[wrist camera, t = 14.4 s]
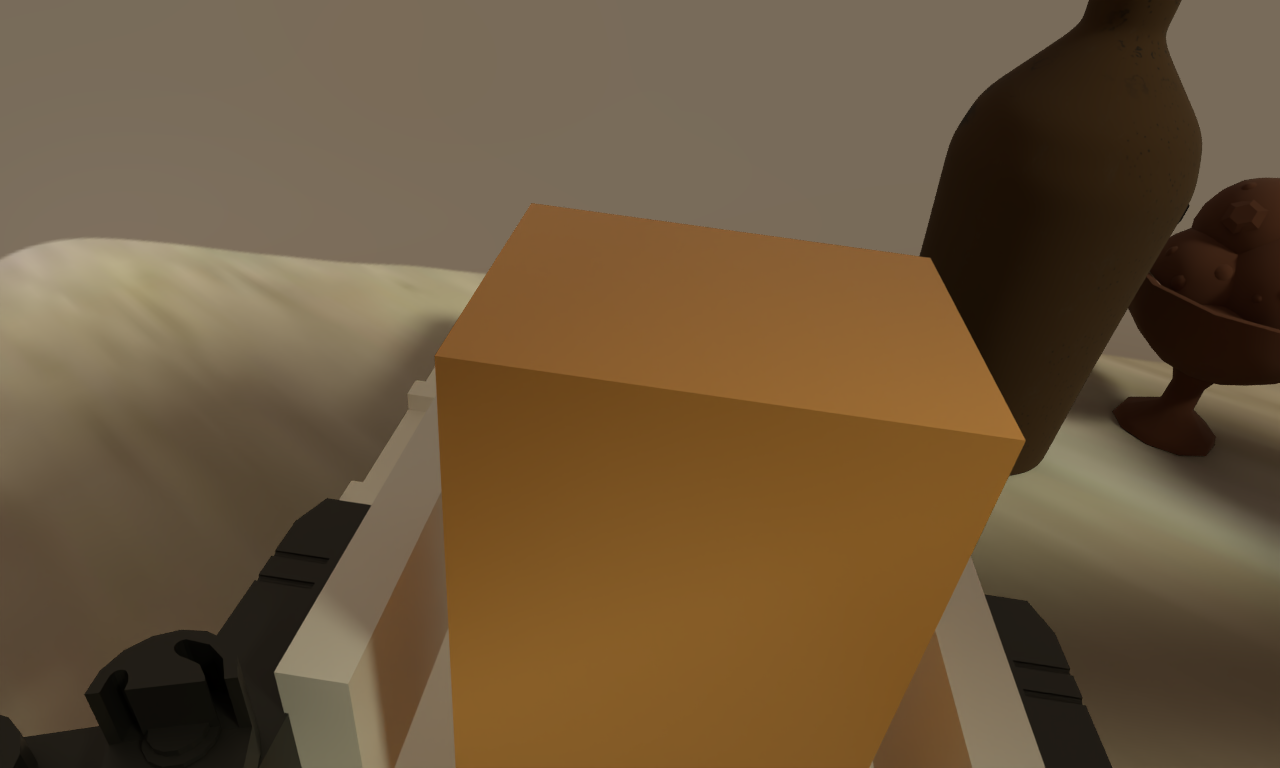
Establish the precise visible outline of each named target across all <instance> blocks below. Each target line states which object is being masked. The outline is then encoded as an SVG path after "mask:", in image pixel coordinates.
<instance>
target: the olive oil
mask: <svg viewBox="0 0 1280 768" xmlns="http://www.w3.org/2000/svg"><path fill="white" fill-rule="evenodd" d="M1180 2H1181V0H1089V2H1088V5H1087V8H1086V11H1085V14H1084V16H1083V18H1082V20H1081V21H1080V22H1079V24H1078V25H1077V26H1076V27H1074V28H1073V29H1072V30H1071V31H1070V32H1068V33H1067V34H1066V35H1064V36H1063V37H1062V38H1060V39H1058V40H1057V41H1056V42H1054V43H1053V44H1051V45H1050V46H1048V47H1047V48H1045V49H1044V50H1042V51H1041V52H1039V53H1038V54H1036V55H1035V56H1033V57H1032V58H1030V59H1029V60H1027V61H1026V62H1024V63H1023V64H1021V65H1020V66H1018V67H1016V68H1015V69H1013V70H1012V71H1011V72H1009V73H1008V74H1006V75H1005V76H1003V77H1002V78H1000V79H999V80H997V81H996V82H995V83H993V84H992V85H991V86H990V87H989V88H987V90H985V91H984V92H983V93H982V94H981V95H980V96H979V97H978V99H977V100H976V101H975V102H974V104H973V105H972V106H971V108H970V110H969V111H968V112H967V114H966V115H965V117H964V118H963V120H962V121H961V123H960V125H959V126H958V128H957V130H956V131H955V134H954V136H953V138H952V140H951V143H950V145H949V148H948V151H947V155H946V158H945V162H944V166H943V170H942V174H941V177H940V181H939V185H938V189H937V193H936V196H935V200H934V204H933V208H932V212H931V215H930V219H929V223H928V227H927V231H926V234H925V238H924V242H923V245H922V250H921V253H920V257H927V258H931V260H932V262H933V264H934V266H935V268H936V270H937V272H938V274H939V275H940V277H941V279H942V281H943V283H944V285H945V287H946V289H947V291H948V293H949V295H950V297H951V298H952V300H953V302H954V304H955V306H956V308H957V310H958V312H959V314H960V316H961V318H962V319H963V321H964V323H965V325H966V327H967V329H968V331H969V333H970V335H971V337H972V339H973V341H974V342H975V344H976V346H977V348H978V350H979V352H980V354H981V356H982V358H983V360H984V362H985V364H986V365H987V367H988V369H989V371H990V373H991V375H992V377H993V379H994V381H995V383H996V385H997V386H998V388H999V390H1000V392H1001V394H1002V396H1003V398H1004V400H1005V402H1006V404H1007V406H1008V408H1009V409H1010V411H1011V413H1012V415H1013V417H1014V419H1015V421H1016V423H1017V425H1018V427H1019V429H1020V431H1021V432H1022V434H1023V436H1024V438H1025V440H1026V441H1025V443H1024V446H1023V448H1022V450H1021V452H1020V454H1019V456H1018V458H1017V460H1016V462H1015V464H1014V466H1013V469H1012V471H1011V473H1010V475H1016V474H1020V473H1024V472H1027V471H1029V470H1031V469H1033V468H1034V467H1036V466H1037V465H1038V464H1039V463H1040V462H1041V461H1042V459H1043V458H1044V456H1045V454H1046V453H1047V451H1048V449H1049V447H1050V445H1051V444H1052V442H1053V440H1054V438H1055V436H1056V435H1057V433H1058V431H1059V429H1060V427H1061V425H1062V424H1063V422H1064V420H1065V418H1066V416H1067V414H1068V413H1069V411H1070V409H1071V407H1072V405H1073V403H1074V402H1075V400H1076V398H1077V396H1078V394H1079V392H1080V391H1081V389H1082V387H1083V385H1084V383H1085V382H1086V380H1087V378H1088V376H1089V375H1090V373H1091V371H1092V369H1093V368H1094V366H1095V364H1096V362H1097V361H1098V359H1099V357H1100V356H1101V354H1102V352H1103V350H1104V349H1105V347H1106V345H1107V343H1108V342H1109V340H1110V338H1111V336H1112V335H1113V333H1114V331H1115V330H1116V328H1117V326H1118V324H1119V323H1120V321H1121V319H1122V317H1123V316H1124V314H1125V312H1126V310H1127V309H1128V307H1129V305H1130V304H1131V302H1132V300H1133V298H1134V297H1135V295H1136V293H1137V292H1138V290H1139V288H1140V286H1141V285H1142V283H1143V281H1144V280H1145V278H1146V276H1147V275H1148V273H1149V271H1150V270H1151V268H1152V266H1153V264H1154V263H1155V261H1156V259H1157V258H1158V256H1159V254H1160V253H1161V251H1162V249H1163V248H1164V246H1165V244H1166V243H1167V241H1168V239H1169V237H1170V236H1171V234H1172V232H1173V231H1174V229H1175V227H1176V226H1177V224H1178V223H1179V222H1180V221H1181V220H1182V218H1183V216H1184V215H1185V213H1186V211H1187V209H1188V208H1189V202H1190V200H1191V198H1192V196H1193V193H1194V190H1195V187H1196V183H1197V178H1198V174H1199V168H1200V162H1201V154H1202V137H1201V132H1200V127H1199V125H1198V121H1197V119H1196V116H1195V113H1194V111H1193V109H1192V106H1191V104H1190V101H1189V100H1188V97H1187V94H1186V92H1185V90H1184V88H1183V85H1182V83H1181V80H1180V78H1179V76H1178V74H1177V71H1176V69H1175V66H1174V64H1173V61H1172V59H1171V56H1170V54H1169V51H1168V48H1167V44H1166V32H1167V29H1168V27H1169V24H1170V23H1171V21H1172V19H1173V17H1174V15H1175V13H1176V11H1177V9H1178V6H1179V4H1180ZM1010 475H1009V476H1010Z"/></svg>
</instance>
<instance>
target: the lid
mask: <svg viewBox="0 0 1280 768" xmlns="http://www.w3.org/2000/svg"><path fill="white" fill-rule="evenodd" d="M436 394H437V413H438V432H439V452H440V471H441V491H442V511H443V530H444V550H445V570H446V589H447V609H448V630H447V633H446V635H445V638H444V640H443V643H442V646H441V648H440V651H439V653H438V656H437V659H436V661H435V664H434V666H433V669H432V672H431V674H430V677H429V679H428V682H427V685H426V687H425V690H424V692H423V695H422V698H421V700H420V703H419V705H418V708H417V711H416V713H415V716H414V718H413V721H412V724H411V726H410V729H409V731H408V734H407V737H406V739H405V742H404V744H403V747H402V750H401V752H400V755H399V757H398V760H397V763H396V765H395V768H874V766H873V759H874V757H875V755H876V753H877V751H878V749H879V747H880V744H881V742H882V740H883V738H884V736H885V734H886V732H887V730H888V728H889V726H890V724H891V721H892V719H893V717H894V715H895V713H896V711H897V709H898V707H899V705H900V703H901V701H902V698H903V696H904V694H905V692H906V690H907V688H908V686H909V684H910V682H911V680H912V678H913V675H914V673H915V671H916V669H917V667H918V665H919V663H920V661H921V659H922V657H923V655H924V652H925V650H926V648H927V646H928V644H929V642H930V640H931V638H932V636H933V634H934V632H935V629H936V627H937V625H938V623H939V621H940V619H941V617H942V615H943V613H944V611H945V609H946V606H947V604H948V602H949V600H950V598H951V596H952V594H953V592H954V590H955V588H956V586H957V583H958V581H959V579H960V577H961V575H962V573H963V571H964V569H965V567H966V565H967V563H968V561H969V558H970V556H971V554H972V552H973V550H974V548H975V546H976V544H977V542H978V540H979V538H980V535H981V533H982V531H983V529H984V527H985V525H986V523H987V521H988V519H989V517H990V515H991V512H992V510H993V508H994V506H995V504H996V502H997V500H998V498H999V496H1000V494H1001V492H1002V489H1003V487H1004V485H1005V483H1006V481H1007V479H1008V477H1009V475H1010V473H1011V471H1012V469H1013V466H1014V464H1015V462H1016V460H1017V458H1018V456H1019V454H1020V452H1021V450H1022V448H1023V446H1024V443H1025V441H1026V440H1025V438H1024V436H1023V434H1022V432H1021V431H1020V429H1019V427H1018V425H1017V423H1016V421H1015V419H1014V417H1013V415H1012V413H1011V411H1010V409H1009V408H1008V406H1007V404H1006V402H1005V400H1004V398H1003V396H1002V394H1001V392H1000V390H999V388H998V386H997V385H996V383H995V381H994V379H993V377H992V375H991V373H990V371H989V369H988V367H987V365H986V364H985V362H984V360H983V358H982V356H981V354H980V352H979V350H978V348H977V346H976V344H975V342H974V341H973V339H972V337H971V335H970V333H969V331H968V329H967V327H966V325H965V323H964V321H963V319H962V318H961V316H960V314H959V312H958V310H957V308H956V306H955V304H954V302H953V300H952V298H951V297H950V295H949V293H948V291H947V289H946V287H945V285H944V283H943V281H942V279H941V277H940V275H939V274H938V272H937V270H936V268H935V266H934V264H933V262H932V260H931V258H927V257H920V256H913V255H905V254H898V253H890V252H883V251H876V250H869V249H862V248H854V247H847V246H839V245H833V244H825V243H818V242H810V241H803V240H796V239H789V238H782V237H774V236H767V235H760V234H752V233H745V232H738V231H730V230H723V229H716V228H709V227H701V226H694V225H687V224H679V223H672V222H664V221H658V220H650V219H642V218H635V217H628V216H621V215H614V214H607V213H599V212H592V211H585V210H578V209H570V208H562V207H556V206H549V205H541V204H534V203H531V205H530V207H529V208H528V210H527V211H526V213H525V214H524V216H523V217H522V219H521V221H520V222H519V224H518V225H517V227H516V228H515V230H514V232H513V233H512V235H511V236H510V238H509V239H508V241H507V243H506V244H505V246H504V247H503V249H502V250H501V252H500V254H499V255H498V257H497V258H496V260H495V261H494V263H493V265H492V266H491V268H490V269H489V271H488V273H487V274H486V276H485V277H484V279H483V280H482V282H481V284H480V285H479V287H478V288H477V290H476V291H475V293H474V295H473V296H472V298H471V299H470V301H469V302H468V304H467V306H466V307H465V309H464V310H463V312H462V313H461V315H460V317H459V318H458V320H457V321H456V323H455V324H454V326H453V328H452V329H451V331H450V332H449V334H448V335H447V337H446V339H445V340H444V342H443V343H442V345H441V346H440V348H439V350H438V351H437V353H436V354H435V367H434V369H433V370H432V372H431V374H430V375H429V377H428V378H427V380H426V381H419V380H416V381H415V382H414V384H413V385H412V387H411V388H410V390H409V392H408V393H407V399H408V411H407V412H406V414H405V415H404V417H403V419H402V420H401V422H400V423H399V425H398V427H397V428H396V430H395V432H394V433H393V435H392V436H391V438H390V440H389V441H388V443H387V444H386V446H385V448H384V449H383V451H382V452H381V454H380V456H379V457H378V459H377V461H376V462H375V464H374V465H373V467H372V469H371V470H370V472H369V473H368V475H367V477H366V478H365V480H364V481H363V482H358V481H352V480H351V482H350V483H349V485H348V487H347V488H346V490H345V491H344V493H343V494H342V496H341V497H340V499H339V500H342V501H348V502H355V503H362V504H368V505H372V504H373V502H374V500H375V498H376V497H377V495H378V493H379V492H380V490H381V488H382V486H383V485H384V483H385V481H386V480H387V478H388V476H389V474H390V473H391V471H392V469H393V468H394V466H395V464H396V462H397V461H398V459H399V457H400V456H401V454H402V452H403V451H404V449H405V447H406V445H407V444H408V442H409V440H410V439H411V437H412V435H413V433H414V432H415V430H416V428H417V427H418V425H419V423H420V421H421V420H422V418H423V416H424V415H425V413H426V411H427V409H428V408H429V406H430V404H431V403H432V401H433V399H434V397H435V396H436Z"/></svg>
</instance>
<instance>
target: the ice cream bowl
mask: <svg viewBox="0 0 1280 768" xmlns="http://www.w3.org/2000/svg"><path fill="white" fill-rule="evenodd" d="M1128 309H1129V310H1130V313H1131V315H1132V317H1133V319H1134V321H1135V323H1136V325H1137V327H1138V329H1139V331H1140V332H1141V333H1142V335H1143V336H1144V338H1145V339H1146V340H1147V342H1148V343H1149V345H1150V346H1151V348H1152V349H1153V350H1154V351H1155V352H1156V354H1157V355H1158V356H1159V357H1160V358H1161V359H1162V360H1163V361H1164V362H1166V363H1168V364H1169V365H1171V366H1172V367H1173V379H1172V380H1171V382H1170V383H1169V385H1168V387H1167V388H1166V390H1165V391H1164V393H1163V395H1162V396H1161V397H1128V398H1127V399H1126V400H1125V401H1124V402H1122V403H1121V404H1120V405H1119V406H1118V407H1117V408H1116V409H1115V410H1114V411H1113V413H1114V415H1115V417H1116V419H1117V420H1118V422H1119V424H1120V426H1121V427H1122V428H1123V429H1125V430H1126V431H1128V432H1129V433H1131V434H1132V435H1134V436H1135V437H1137V438H1138V439H1140V440H1141V441H1143V442H1144V443H1146V444H1148V445H1150V446H1153V447H1156V448H1159V449H1162V450H1165V451H1168V452H1171V453H1174V454H1177V455H1185V456H1206V455H1207V454H1208V452H1209V451H1210V450H1211V449H1212V448H1213V446H1214V445H1215V439H1216V436H1215V435H1214V433H1213V432H1212V431H1211V429H1210V428H1209V426H1208V425H1207V424H1206V422H1205V421H1204V420H1203V419H1202V418H1201V417H1200V416H1199V415H1198V414H1197V413H1196V412H1195V411H1194V410H1193V409H1194V407H1195V406H1196V404H1197V402H1198V400H1199V398H1200V397H1201V395H1202V393H1203V391H1204V390H1205V389H1206V388H1208V387H1209V386H1211V385H1212V384H1214V383H1215V384H1219V385H1267V384H1277V383H1280V178H1256V179H1249V180H1244V181H1241V182H1239V183H1237V184H1234V185H1232V186H1230V187H1227V188H1226V189H1224V190H1222V191H1221V192H1219V193H1218V194H1217V195H1215V196H1214V197H1213V198H1212V199H1210V200H1209V201H1208V202H1207V203H1205V205H1204V206H1203V207H1202V209H1201V210H1200V211H1199V213H1198V214H1197V216H1196V217H1195V218H1194V221H1193V225H1192V228H1190V229H1187V230H1185V231H1182V232H1180V233H1177V234H1175V235H1173V236H1171V237H1169V239H1168V241H1167V243H1166V244H1165V246H1164V248H1163V249H1162V251H1161V253H1160V254H1159V256H1158V258H1157V259H1156V261H1155V263H1154V264H1153V266H1152V268H1151V270H1150V271H1149V273H1148V275H1147V276H1146V278H1145V280H1144V281H1143V283H1142V285H1141V286H1140V288H1139V290H1138V292H1137V293H1136V295H1135V297H1134V298H1133V300H1132V302H1131V304H1130V305H1129V307H1128Z"/></svg>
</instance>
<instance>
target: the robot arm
mask: <svg viewBox="0 0 1280 768" xmlns="http://www.w3.org/2000/svg"><path fill="white" fill-rule="evenodd" d="M447 630H448V609H447V589H446V570H445V550H444V530H443V511H442V491H441V471H440V452H439V432H438V413H437V394H436V396H435V397H434V399H433V401H432V403H431V404H430V406H429V408H428V409H427V411H426V413H425V415H424V416H423V418H422V420H421V421H420V423H419V425H418V427H417V428H416V430H415V432H414V433H413V435H412V437H411V439H410V440H409V442H408V444H407V445H406V447H405V449H404V451H403V452H402V454H401V456H400V457H399V459H398V461H397V462H396V464H395V466H394V468H393V469H392V471H391V473H390V474H389V476H388V478H387V480H386V481H385V483H384V485H383V486H382V488H381V490H380V492H379V493H378V495H377V497H376V498H375V500H374V502H373V504H372V505H368V504H362V503H355V502H348V501H342V500H335V499H328V498H327V499H325V500H324V501H323V502H321V503H320V504H318V505H317V506H316V507H314V508H313V509H312V510H310V511H309V512H307V513H306V514H305V515H303V516H302V517H301V518H299V519H298V520H296V521H295V523H294V524H293V526H292V527H291V528H290V530H289V531H288V533H287V534H286V536H285V537H284V539H283V540H282V542H281V543H280V544H279V546H278V547H277V549H276V552H275V555H274V556H271V557H270V559H269V560H268V562H267V563H266V565H265V566H264V568H263V569H262V571H261V572H260V573H259V578H258V580H257V581H256V580H255V581H254V582H253V584H252V585H251V587H250V588H249V589H248V591H247V592H246V594H245V595H244V597H243V598H242V600H241V601H240V603H239V604H238V605H237V607H236V608H235V610H234V611H233V613H232V614H231V616H230V617H229V618H228V620H227V621H226V623H225V624H224V626H223V627H222V629H221V630H220V632H219V633H218V634H217V636H216V635H214V634H212V633H210V632H208V631H194V630H178V631H174V632H170V633H165V634H161V635H157V636H152V637H150V638H148V639H146V640H144V641H142V642H140V643H138V644H136V645H134V646H132V647H130V648H128V649H126V650H124V651H123V652H122V653H120V654H119V655H118V656H117V657H116V658H114V659H113V660H112V661H111V662H110V663H109V664H107V665H106V666H105V667H104V668H103V669H101V670H100V671H99V673H98V675H97V676H96V678H95V679H94V681H93V682H92V684H91V685H90V687H89V688H88V690H87V691H86V693H85V694H84V695H85V697H86V699H87V701H88V703H89V705H90V707H91V709H92V711H93V713H94V715H95V717H96V719H97V722H98V724H99V726H97V727H91V728H84V729H77V730H70V731H63V732H56V733H49V734H42V735H36V736H29V737H23V736H22V734H21V733H20V731H19V730H18V729H17V728H16V726H15V725H14V724H13V723H12V721H11V720H10V719H9V718H8V717H5V716H2V715H0V768H395V765H396V763H397V760H398V757H399V755H400V752H401V750H402V747H403V744H404V742H405V739H406V737H407V734H408V731H409V729H410V726H411V724H412V721H413V718H414V716H415V713H416V711H417V708H418V705H419V703H420V700H421V698H422V695H423V692H424V690H425V687H426V685H427V682H428V679H429V677H430V674H431V672H432V669H433V666H434V664H435V661H436V659H437V656H438V653H439V651H440V648H441V646H442V643H443V640H444V638H445V635H446V633H447ZM1069 670H1070V667H1069V665H1068V663H1067V660H1066V658H1065V656H1064V653H1063V651H1062V649H1061V646H1060V644H1059V642H1058V639H1057V637H1056V635H1055V633H1054V632H1053V631H1052V629H1051V628H1050V627H1049V626H1048V625H1047V624H1046V622H1045V621H1044V620H1043V619H1042V618H1041V617H1040V616H1039V614H1038V613H1037V612H1036V611H1035V610H1034V609H1033V607H1032V606H1031V605H1030V604H1029V603H1028V602H1027V601H1024V600H1017V599H1010V598H1004V597H997V596H990V595H984V592H983V589H982V586H981V583H980V581H979V578H978V575H977V572H976V569H975V566H974V563H973V561H972V558H971V556H970V558H969V561H968V563H967V565H966V567H965V569H964V571H963V573H962V575H961V577H960V579H959V581H958V583H957V586H956V588H955V590H954V592H953V594H952V596H951V598H950V600H949V602H948V604H947V606H946V609H945V611H944V613H943V615H942V617H941V619H940V621H939V623H938V625H937V627H936V629H935V632H934V634H933V636H932V638H931V640H930V642H929V644H928V646H927V648H926V650H925V652H924V655H923V657H922V659H921V661H920V663H919V665H918V667H917V669H916V671H915V673H914V675H913V678H912V680H911V682H910V684H909V686H908V688H907V690H906V692H905V694H904V696H903V698H902V701H901V703H900V705H899V707H898V709H897V711H896V713H895V715H894V717H893V719H892V721H891V724H890V726H889V728H888V730H887V732H886V734H885V736H884V738H883V740H882V742H881V744H880V747H879V749H878V751H877V753H876V755H875V757H874V759H873V766H874V768H1112V766H1111V764H1110V761H1109V759H1108V757H1107V754H1106V752H1105V749H1104V747H1103V745H1102V742H1101V740H1100V738H1099V735H1098V733H1097V731H1096V728H1095V726H1094V724H1093V721H1092V719H1091V717H1090V714H1089V712H1088V710H1087V707H1086V706H1085V705H1082V696H1081V693H1080V691H1079V689H1078V686H1077V684H1076V682H1075V679H1074V677H1073V676H1071V675H1070V673H1069Z"/></svg>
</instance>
